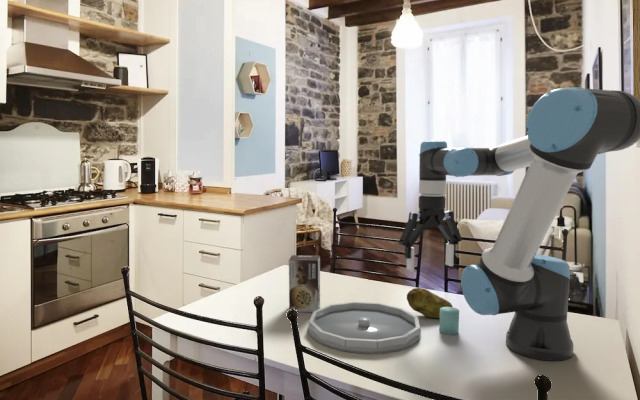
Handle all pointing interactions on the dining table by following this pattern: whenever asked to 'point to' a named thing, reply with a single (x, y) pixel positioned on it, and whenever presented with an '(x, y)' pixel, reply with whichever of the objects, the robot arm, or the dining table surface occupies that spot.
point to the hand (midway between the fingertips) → (430, 267)
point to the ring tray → (364, 327)
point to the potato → (426, 302)
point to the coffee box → (304, 283)
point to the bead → (449, 320)
